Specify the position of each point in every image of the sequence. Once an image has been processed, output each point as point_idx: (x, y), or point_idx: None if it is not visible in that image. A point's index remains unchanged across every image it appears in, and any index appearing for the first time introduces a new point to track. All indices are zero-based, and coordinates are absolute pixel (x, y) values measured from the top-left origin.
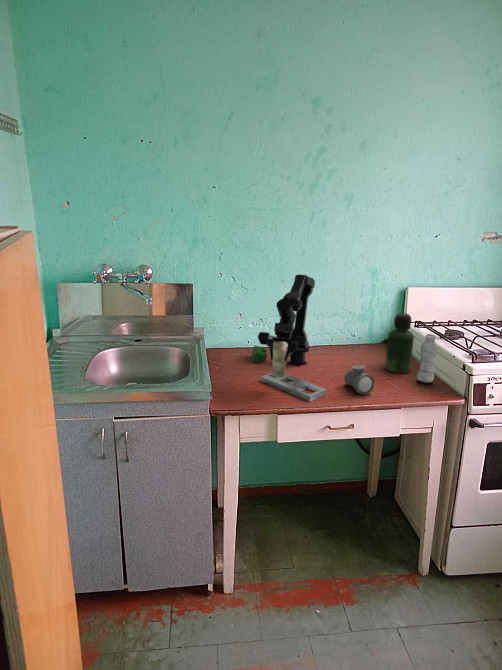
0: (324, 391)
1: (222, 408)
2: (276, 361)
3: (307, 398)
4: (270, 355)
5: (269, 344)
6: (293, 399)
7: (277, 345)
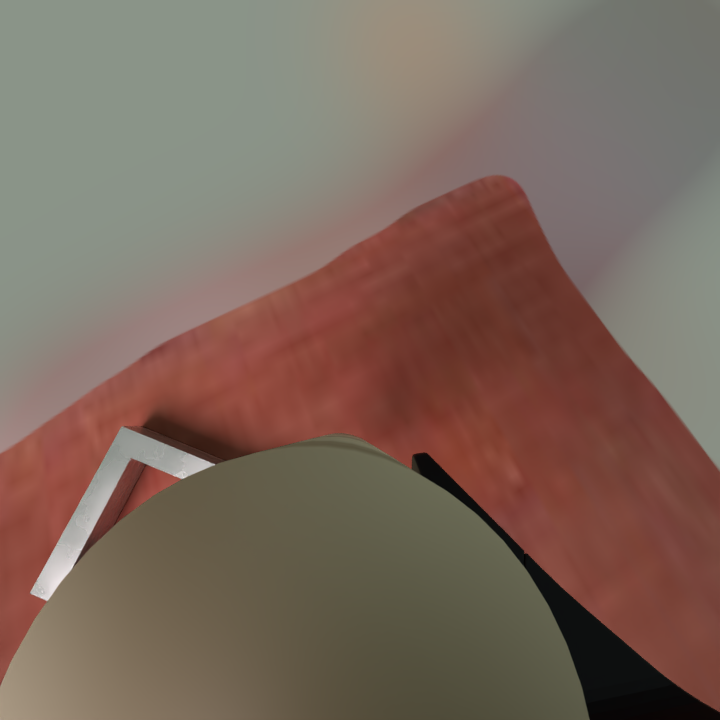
0: (50, 562)
1: (479, 191)
2: (337, 435)
3: (150, 433)
4: (453, 480)
5: (667, 697)
6: (231, 412)
7: (304, 447)
